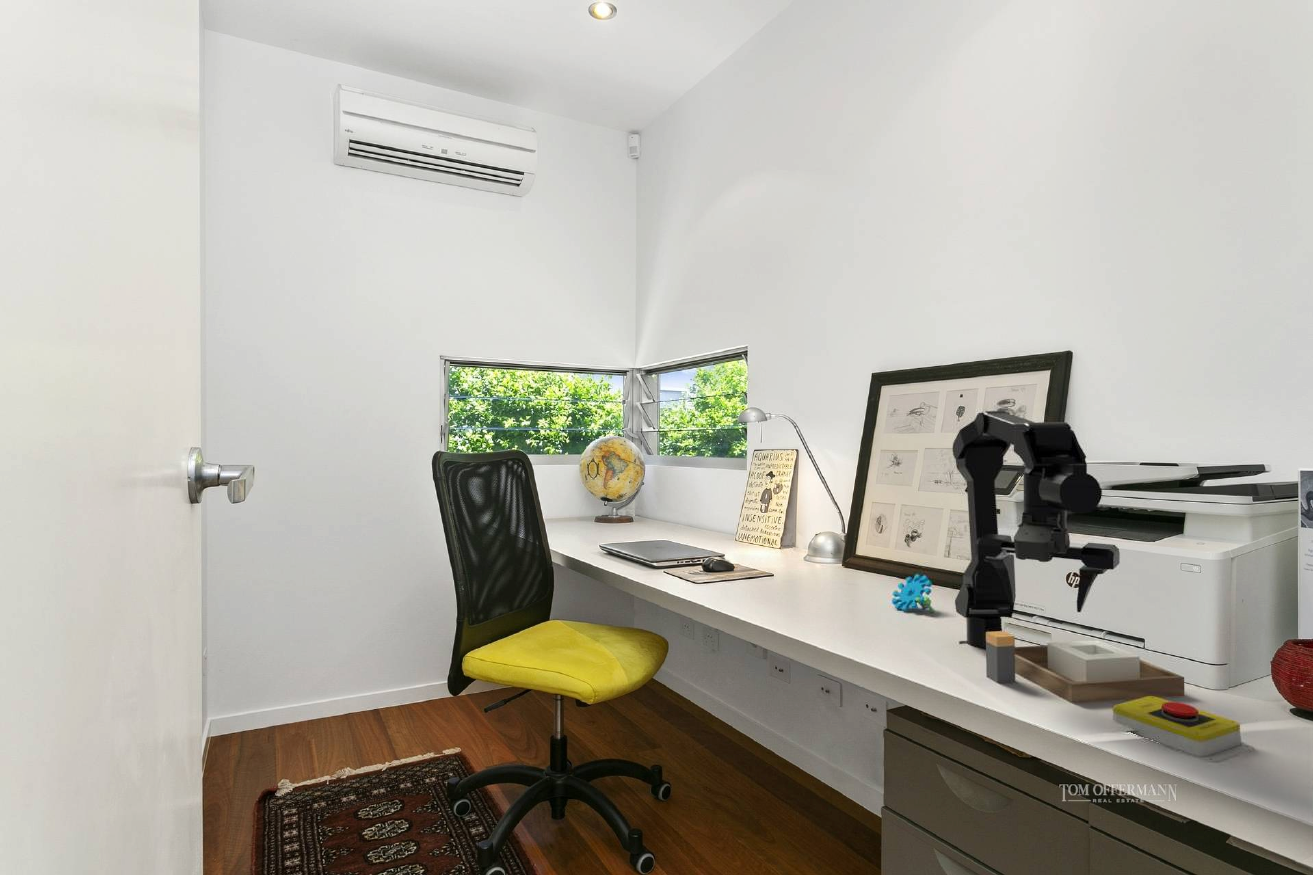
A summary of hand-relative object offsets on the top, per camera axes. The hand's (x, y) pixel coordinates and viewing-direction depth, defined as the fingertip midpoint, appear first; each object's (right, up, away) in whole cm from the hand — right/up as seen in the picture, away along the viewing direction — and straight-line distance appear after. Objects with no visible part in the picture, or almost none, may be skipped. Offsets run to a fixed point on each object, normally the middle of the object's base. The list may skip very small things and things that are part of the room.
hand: (1044, 606), depth 111 cm
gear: (-1, -13, +53) cm, 55 cm away
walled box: (+9, -13, +4) cm, 16 cm away
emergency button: (+9, -14, -15) cm, 22 cm away
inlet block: (+10, -12, +5) cm, 17 cm away
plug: (-5, -13, +5) cm, 15 cm away
